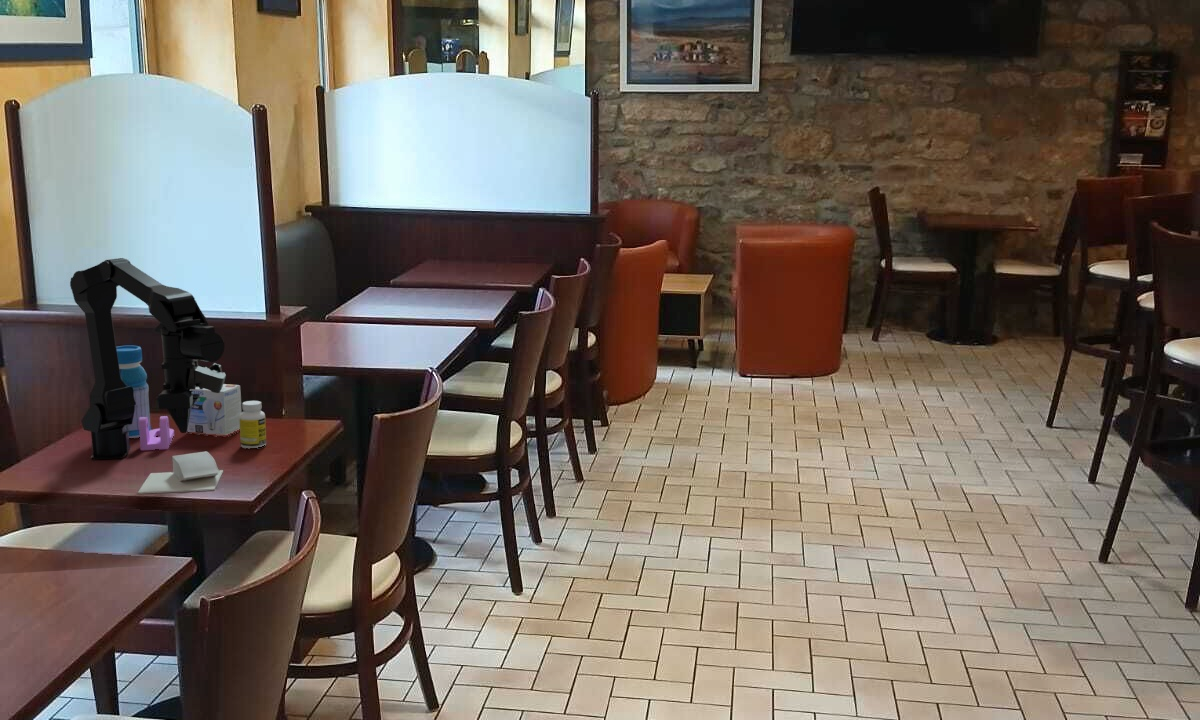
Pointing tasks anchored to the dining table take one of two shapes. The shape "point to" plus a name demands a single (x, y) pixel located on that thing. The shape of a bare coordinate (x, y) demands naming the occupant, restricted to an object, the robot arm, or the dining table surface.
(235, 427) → the light bulb box
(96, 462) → the dining table surface
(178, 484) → the mat
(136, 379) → the beverage bottle
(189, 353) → the robot arm
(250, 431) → the supplement bottle
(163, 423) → the bracket
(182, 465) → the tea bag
